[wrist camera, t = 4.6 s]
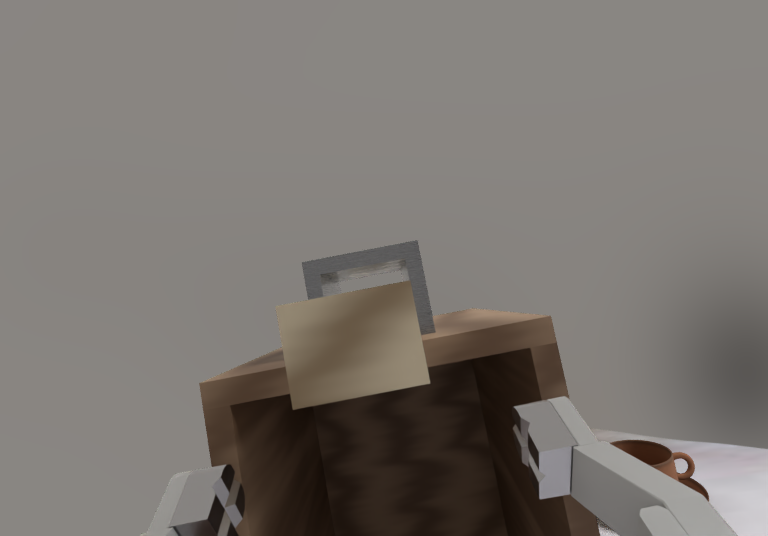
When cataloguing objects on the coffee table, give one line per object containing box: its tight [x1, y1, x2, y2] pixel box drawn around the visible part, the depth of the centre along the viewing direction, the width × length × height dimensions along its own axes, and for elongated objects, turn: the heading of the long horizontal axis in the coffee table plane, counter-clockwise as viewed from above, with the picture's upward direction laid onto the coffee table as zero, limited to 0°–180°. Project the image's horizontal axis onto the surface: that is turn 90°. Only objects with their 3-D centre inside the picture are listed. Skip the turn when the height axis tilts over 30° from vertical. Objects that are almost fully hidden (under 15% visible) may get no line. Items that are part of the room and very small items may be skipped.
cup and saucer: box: [610, 440, 709, 502], centre depth 46 cm, size 12×12×6 cm
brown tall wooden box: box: [200, 309, 600, 536], centre depth 32 cm, size 20×21×26 cm
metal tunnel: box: [302, 241, 436, 335], centre depth 31 cm, size 8×10×6 cm
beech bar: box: [276, 280, 430, 410], centre depth 26 cm, size 4×28×3 cm, turn 179°
